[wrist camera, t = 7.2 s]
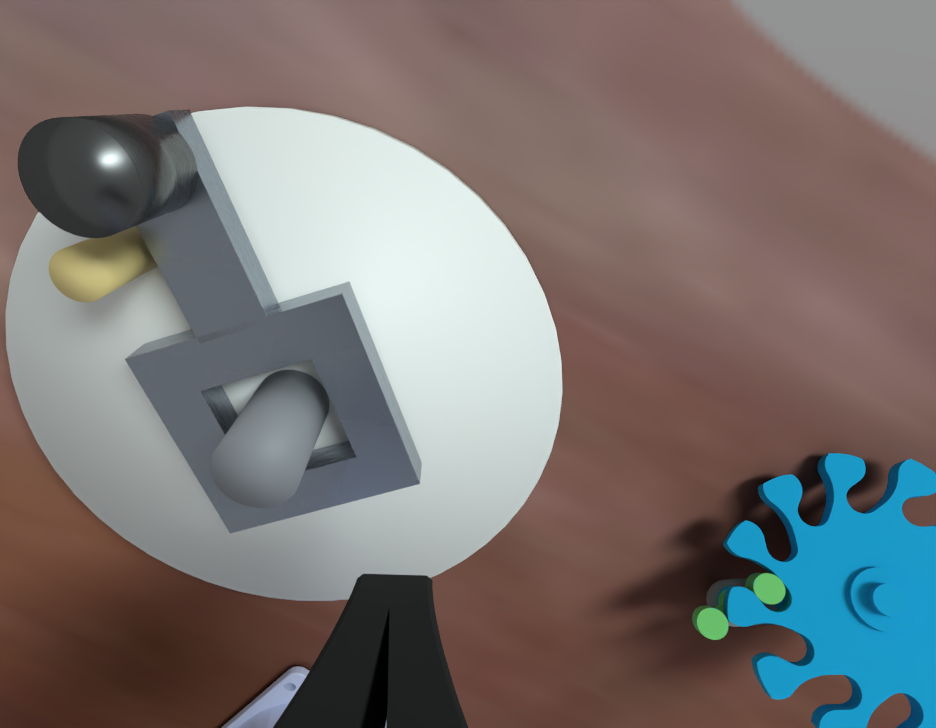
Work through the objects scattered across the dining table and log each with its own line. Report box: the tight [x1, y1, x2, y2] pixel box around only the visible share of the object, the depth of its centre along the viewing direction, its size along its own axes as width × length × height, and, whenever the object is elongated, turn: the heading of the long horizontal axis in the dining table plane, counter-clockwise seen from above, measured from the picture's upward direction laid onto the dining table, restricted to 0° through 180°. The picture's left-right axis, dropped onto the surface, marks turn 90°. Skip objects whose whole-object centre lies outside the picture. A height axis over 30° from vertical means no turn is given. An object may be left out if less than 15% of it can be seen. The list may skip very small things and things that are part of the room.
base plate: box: [6, 107, 562, 601], centre depth 18 cm, size 18×18×5 cm
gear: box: [692, 453, 936, 728], centre depth 22 cm, size 11×6×10 cm
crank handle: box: [18, 110, 422, 533], centre depth 16 cm, size 13×7×4 cm, turn 17°
